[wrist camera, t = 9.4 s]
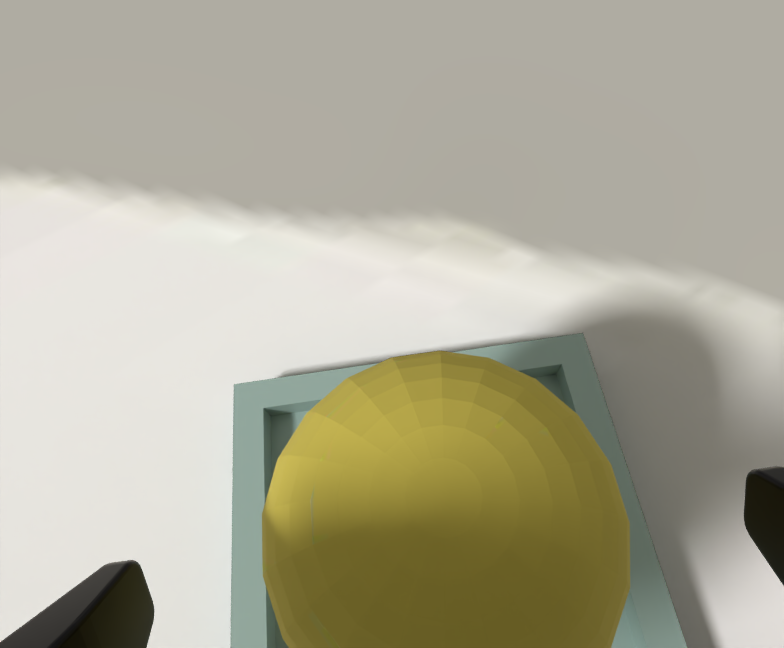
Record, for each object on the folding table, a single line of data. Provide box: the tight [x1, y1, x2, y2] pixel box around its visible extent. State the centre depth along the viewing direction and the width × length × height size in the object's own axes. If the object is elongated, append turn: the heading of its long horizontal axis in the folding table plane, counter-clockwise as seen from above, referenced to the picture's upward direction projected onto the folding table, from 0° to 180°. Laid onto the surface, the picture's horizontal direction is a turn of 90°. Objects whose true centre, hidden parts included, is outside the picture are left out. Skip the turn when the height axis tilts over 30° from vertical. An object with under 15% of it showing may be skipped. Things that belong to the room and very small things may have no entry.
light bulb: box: [262, 351, 630, 648], centre depth 12 cm, size 7×7×10 cm
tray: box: [231, 333, 687, 648], centre depth 16 cm, size 12×12×2 cm
